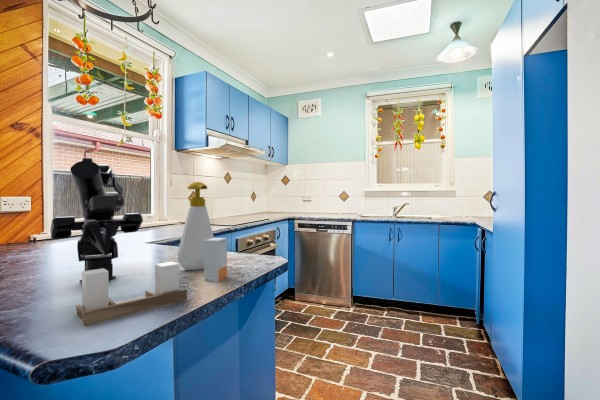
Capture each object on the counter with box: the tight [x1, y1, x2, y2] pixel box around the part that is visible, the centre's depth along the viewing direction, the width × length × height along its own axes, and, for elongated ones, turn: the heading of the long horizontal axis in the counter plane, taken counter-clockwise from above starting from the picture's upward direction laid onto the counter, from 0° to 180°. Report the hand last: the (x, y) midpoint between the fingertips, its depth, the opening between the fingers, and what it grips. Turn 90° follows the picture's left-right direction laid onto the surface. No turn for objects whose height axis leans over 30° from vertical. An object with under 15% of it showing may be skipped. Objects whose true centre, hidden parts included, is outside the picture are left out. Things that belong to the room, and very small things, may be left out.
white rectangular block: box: [154, 261, 180, 295], centre depth 67 cm, size 4×4×8 cm
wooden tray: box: [74, 288, 188, 327], centre depth 64 cm, size 10×19×3 cm, turn 136°
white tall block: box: [81, 268, 110, 311], centre depth 61 cm, size 4×4×8 cm
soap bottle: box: [177, 181, 215, 271], centre depth 97 cm, size 13×10×29 cm
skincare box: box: [203, 237, 228, 283], centre depth 85 cm, size 6×4×12 cm
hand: (106, 253), depth 71 cm, fingers closed
